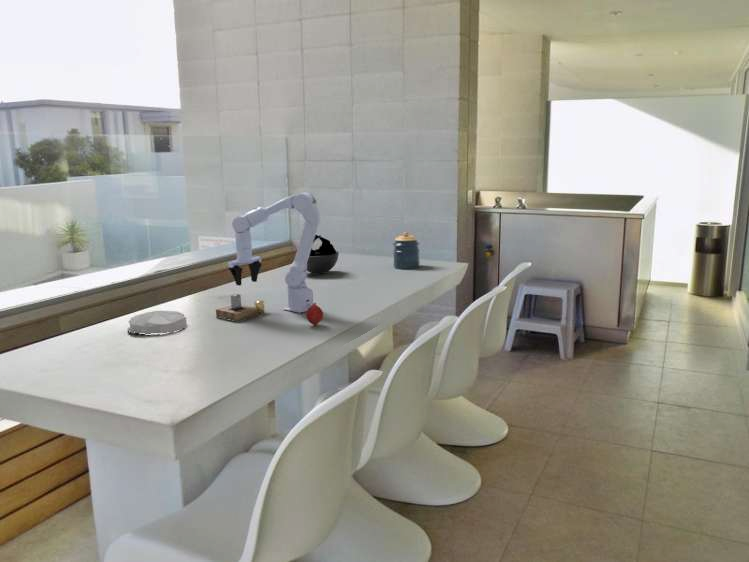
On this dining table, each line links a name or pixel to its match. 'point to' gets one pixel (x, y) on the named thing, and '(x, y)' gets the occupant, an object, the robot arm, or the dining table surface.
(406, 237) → the canister
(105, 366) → the dining table surface
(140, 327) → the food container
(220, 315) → the collar block
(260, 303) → the brass pin short
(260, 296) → the dining table surface
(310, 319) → the onion
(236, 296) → the steel pin long
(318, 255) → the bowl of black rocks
